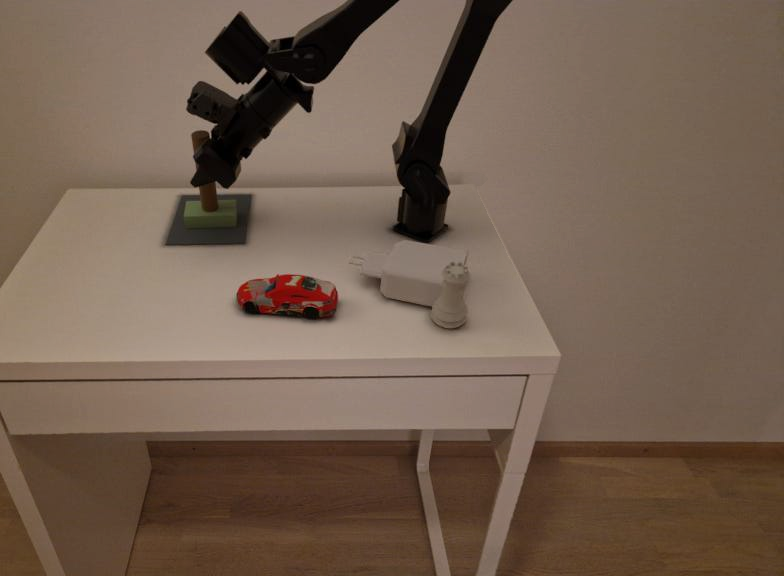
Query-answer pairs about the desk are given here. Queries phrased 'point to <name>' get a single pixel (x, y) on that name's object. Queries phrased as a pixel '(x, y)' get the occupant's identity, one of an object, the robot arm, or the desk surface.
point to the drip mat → (213, 234)
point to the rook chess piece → (451, 297)
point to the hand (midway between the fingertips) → (195, 181)
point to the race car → (289, 296)
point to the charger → (411, 270)
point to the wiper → (208, 200)
